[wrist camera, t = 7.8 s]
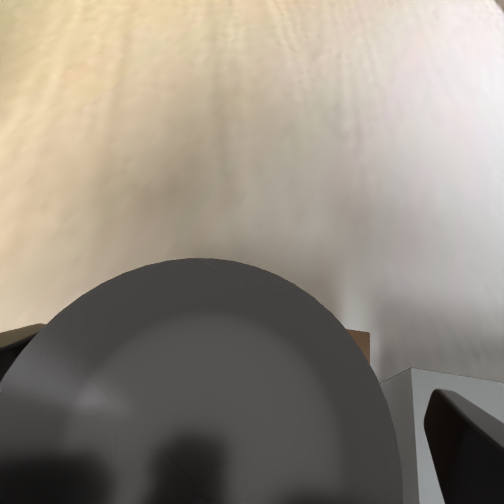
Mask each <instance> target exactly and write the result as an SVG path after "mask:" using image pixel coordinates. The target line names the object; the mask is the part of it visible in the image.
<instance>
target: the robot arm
mask: <svg viewBox="0 0 504 504" xmlns="http://www.w3.org/2000/svg"><path fill="white" fill-rule="evenodd" d="M45 325H47V324H35V325H30V326H26V327H22V328H18V329H14V330H10V331H6V332H2V333H0V382H1V380H2V379H3V377H4V375H5V374H6V372H7V371H8V370H9V368H10V367H11V365H12V364H13V363H14V361H15V360H16V359H17V357H18V356H19V354H20V353H21V352H22V350H23V349H24V348H25V347H26V346H27V345H28V344H29V342H30V341H31V340H32V339H33V338H34V337H35V336H36V335H37V333H38V332H39V331H40V330H41V329H42V328H43V327H44V326H45ZM424 431H425V434H426V438H427V442H428V446H429V449H430V453H431V457H432V460H433V464H434V468H435V471H436V475H437V479H438V483H439V486H440V489H441V493H442V496H443V499H444V502H445V504H504V423H503V422H501V421H500V420H498V419H496V418H495V417H493V416H492V415H490V414H489V413H487V412H486V411H484V410H483V409H481V408H480V407H478V406H476V405H475V404H473V403H472V402H470V401H469V400H467V399H466V398H464V397H463V396H461V395H459V394H458V393H456V392H455V391H452V390H446V389H440V388H436V389H434V390H433V391H432V393H431V396H430V399H429V403H428V406H427V409H426V413H425V416H424Z"/></svg>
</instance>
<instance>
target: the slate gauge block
mask: <svg viewBox="0 0 504 504" xmlns="http://www.w3.org/2000/svg"><path fill="white" fill-rule="evenodd" d="M380 386H381V389H382V391H383V394H384V396H385V399H386V401H387V403H388V407H389V410H390V414H391V417H392V421H393V424H394V428H395V431H396V436H397V442H398V448H399V454H400V460H401V468H402V485H403V504H445V502H444V499H443V496H442V493H441V489H440V486H439V483H438V479H437V475H436V471H435V468H434V464H433V460H432V457H431V453H430V449H429V446H428V442H427V438H426V434H425V431H424V416H425V413H426V409H427V406H428V403H429V399H430V396H431V393H432V391H433V390H434V389H436V388H440V389H446V390H452V391H455V392H456V393H458V394H459V395H461V396H463V397H464V398H466V399H467V400H469V401H470V402H472V403H473V404H475V405H476V406H478V407H480V408H481V409H483V410H484V411H486V412H487V413H489V414H490V415H492V416H493V417H495V418H496V419H498V420H500V421H501V422H503V423H504V383H503V382H497V381H491V380H485V379H478V378H472V377H466V376H460V375H454V374H448V373H441V372H435V371H429V370H423V369H417V368H409V369H407V370H406V371H404V372H402V373H400V374H398V375H396V376H394V377H392V378H390V379H388V380H386V381H384V382H382V383H380Z"/></svg>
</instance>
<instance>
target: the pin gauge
mask: <svg viewBox="0 0 504 504" xmlns="http://www.w3.org/2000/svg"><path fill="white" fill-rule="evenodd" d="M0 504H403V485H402V468H401V460H400V454H399V448H398V442H397V436H396V431H395V428H394V424H393V421H392V417H391V414H390V410H389V407H388V403H387V401H386V399H385V396H384V394H383V391H382V389H381V386H380V384H379V382H378V379H377V377H376V375H375V373H374V371H373V370H372V368H371V366H370V364H369V362H368V360H367V359H366V357H365V355H364V353H363V352H362V350H361V349H360V348H359V346H358V345H357V343H356V342H355V341H354V339H353V338H352V336H351V335H350V333H349V332H348V331H347V330H346V329H345V328H344V326H343V325H342V324H341V323H340V322H339V321H338V320H337V319H336V318H335V316H334V315H333V314H332V313H331V312H330V311H328V310H327V309H326V308H325V307H324V306H323V305H322V304H320V303H319V302H318V301H317V300H316V299H315V298H314V297H312V296H311V295H309V294H308V293H306V292H305V291H303V290H302V289H300V288H299V287H297V286H296V285H295V284H293V283H291V282H289V281H287V280H285V279H283V278H281V277H279V276H277V275H275V274H273V273H270V272H268V271H265V270H262V269H260V268H257V267H254V266H250V265H246V264H242V263H238V262H234V261H227V260H219V259H204V258H189V259H180V260H170V261H165V262H160V263H156V264H151V265H147V266H144V267H141V268H138V269H135V270H132V271H129V272H126V273H123V274H121V275H119V276H117V277H115V278H113V279H110V280H108V281H106V282H104V283H102V284H100V285H99V286H97V287H95V288H94V289H92V290H90V291H89V292H87V293H85V294H84V295H82V296H81V297H79V298H78V299H77V300H75V301H74V302H73V303H71V304H70V305H69V306H67V307H66V308H65V309H63V310H62V311H61V312H60V313H58V314H57V315H56V316H55V317H54V318H53V319H52V320H51V321H50V322H49V323H48V324H47V325H45V326H44V327H43V328H42V329H41V330H40V331H39V332H38V333H37V335H36V336H35V337H34V338H33V339H32V340H31V341H30V342H29V344H28V345H27V346H26V347H25V348H24V349H23V350H22V352H21V353H20V354H19V356H18V357H17V359H16V360H15V361H14V363H13V364H12V365H11V367H10V368H9V370H8V371H7V372H6V374H5V375H4V377H3V379H2V380H1V382H0Z"/></svg>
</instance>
